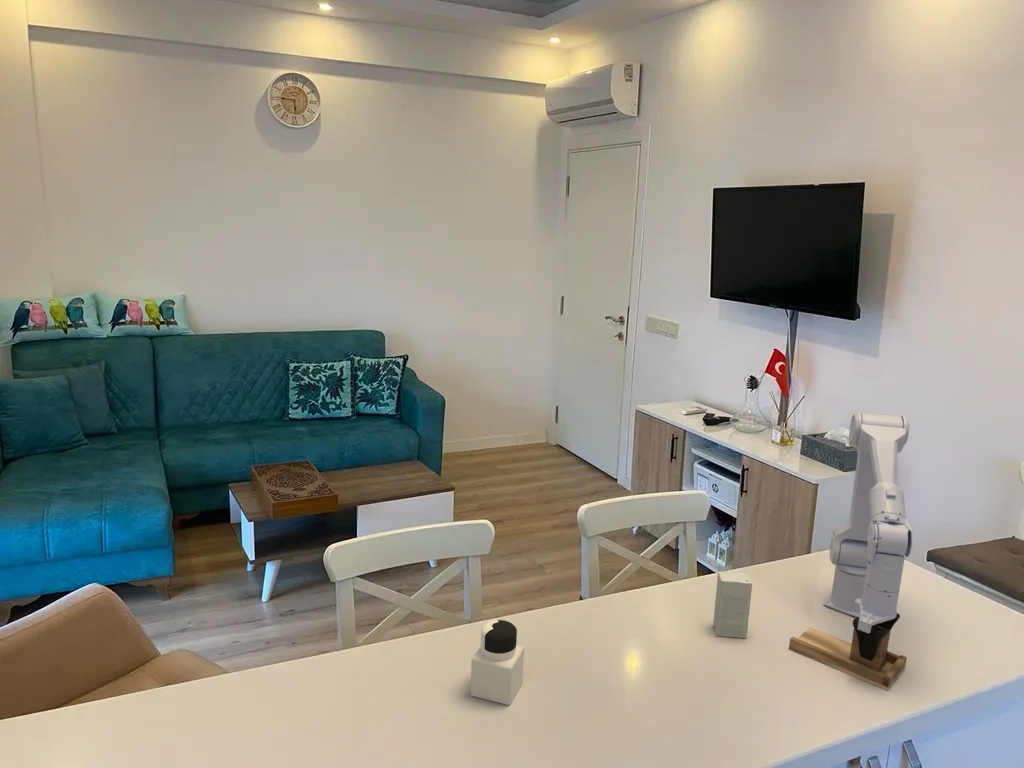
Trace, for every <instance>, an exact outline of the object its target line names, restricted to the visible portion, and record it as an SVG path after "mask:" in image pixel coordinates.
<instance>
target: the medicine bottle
mask: <svg viewBox="0 0 1024 768" xmlns="http://www.w3.org/2000/svg"><path fill="white" fill-rule="evenodd" d="M480 636H481V637H480V647H479V648H478V649H477V650H476V652H475V654H474V655H473V656H472V658H471V666H470V667H471V668H470V669H471V671H470V696H471V697H475V698H479V699H482V700H487V701H490V702H495V703H498V704H502V705H506V706H509V705H511V703H512V702H513V700H514V698H515V696H516V695H517V693H518V691H519V689H520V688H521V686H522V684H523V681H524V679H523V678H524V677H523V676H524V662H525V661H524V657H525V647H524V646H523V645H520V644H519V645H518V644H517V639H518V629H517V626H515V625H514V624H513V623H512V622H510V621H508V620H503V619H494V620H493V619H492V620H490V621H487V622H486V623H484V624H483V625H482V626H481V630H480Z"/></svg>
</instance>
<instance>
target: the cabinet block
mask: <svg viewBox="0 0 1024 768" xmlns="http://www.w3.org/2000/svg"><path fill="white" fill-rule="evenodd" d="M878 627H880V626H878ZM880 628H883V627H880ZM883 629H885V628H883ZM885 630H888V629H885ZM891 630H892V629H891ZM891 630H888V632H887V633H886V634H885V635H884V636H883V638H882V639H881V641H880V643H879V646H878V649H877V652H876V655H875V657H874V659H873V660H872V661H870V660H868V659H865V658H863V657H861V656H860V651H859V643H858V637H857V634H856V631H855V629H854V628H853V633H852V638H851V639H852V640H851V644H852V645H851V652H850V659H849V660H851V661H853V662H855V663H858V664H860V665H863V666H865V667H868V668H870V669H873V670H875V671H877V672H879V671H880V670H881V669H882V668H883V667H884V665H885V663H886V656H887V651H888V648H889V643H890V638H891V637H890V636H891Z"/></svg>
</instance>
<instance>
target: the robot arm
mask: <svg viewBox="0 0 1024 768" xmlns="http://www.w3.org/2000/svg"><path fill="white" fill-rule="evenodd" d="M909 424H910V423H909V419H908V418H907V416H905V415H891V414H880V413H869V412H860V411H856V412H854V413H853V414H852V417H851V419H850V426H849V433H848V446H849V447H852V448H853V449H856V454H857V456H856V457H857V458H856V465H855V466H856V467H855V471H854V472H855V473H854V480H853V488H852V489H853V490H852V494H851V495H852V496H851V503H850V513H849V519H848V521H847V522H844V523H842V524H840V525H838V526H836V527H834V530H833V533H832V537H831V539H830V544H829V561H830V562H831V563H832V565H833V566H835V567H834V574H833V581H832V589H831V595H830V596H829V597H828V598H827V599H826V600H824V601H823V606H825V607H828V608H830V609H833V610H836V611H838V612H841V613H844V614H846V615H849V616H853V617H854V618H853V620H852V626H853V630H854V629H855V631H856V634H857V637H858V643H859V651H860V656H861V657H863V658H865V659H868V660H870V661H872V660H873V659H874V657H875V655H876V652H877V649H878V646H879V643H880V641H881V639H882V638H883V636H884V635H885V634H886V633H887V632H888V630H892V628H893V626H895V624H896V622H898V621H899V620H900V618H901V614H899V612H898V610H897V608H898V607H897V605H898V600H899V595H900V588H901V583H902V575H903V571H904V564H905V559H906V558H908V557H909V556H910V554H911V552H912V547H913V531H912V530H913V529H912V526H911V525H910V521H909V519H908V518H906V507H905V495H904V494H905V493H904V491H903V490H902V489H901V488H900V487H899V486H897V471H898V470H897V468H898V467H897V463H898V454H899V453H901V452H902V450H903V449H904V446H906V444H907V441H908V439H909V433H910V425H909ZM905 557H906V558H905ZM878 626H880V627H883V628H885V629H888V630H885V629H883V628H880V627H878Z"/></svg>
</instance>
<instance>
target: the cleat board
mask: <svg viewBox="0 0 1024 768" xmlns="http://www.w3.org/2000/svg"><path fill="white" fill-rule="evenodd" d="M851 645H852V642H848V641H847V640H843V639H841V638H838V637H836V636H834V635H832V634H829V633H826V632H823V631H821V630H819V629H816V628H814V627H812V626H810V627H808V628H807V629H806V630H805V631H804V632H803V633H802V634H801V635H800V636H799V637H797V638H796V637H794V636H791V637H789V645H788V650H791V651H793V652H795V653H798V654H800V655H802V656H805V657H807V658H809V659H812V660H814V661H817V662H820V663H821V664H824V665H826V666H828V667H831V668H833V669H836V670H837V671H838V670H839V671H841V672H842V673H845V674H848V675H850V676H852V677H855V678H857V679H860V680H862V681H864V682H867V683H869V684H871V685H872V686H873V685H874V686H876V687H878V688H881V689H883V690H886V691H889V689H890V688H891V687H892V685H893V684H895V681H896V680H897V679H898V677H899V676H900V675H901V674H902V672H903V671H904V670H905V668H906V664H907V658H908V657H907V656H904V655H898V654H896V653H895V652H891V651H888V650H887V656H886V663H885V665H884V667H883V668H882V669H881V670H880V671H879V672H877V671H875V670H873V669H870V668H868V667H865V666H863V665H860V664H858V663H855V662H853V661H851V660H849V659H850V652H851Z"/></svg>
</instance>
